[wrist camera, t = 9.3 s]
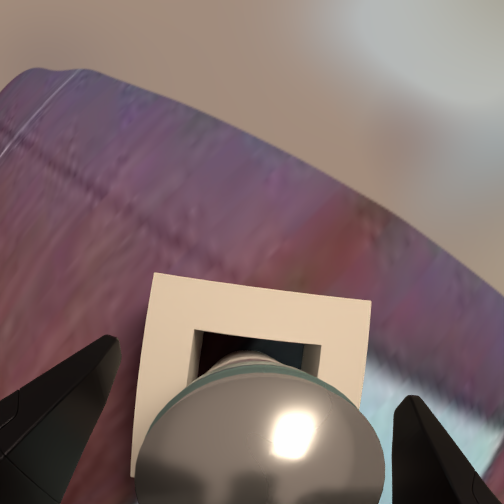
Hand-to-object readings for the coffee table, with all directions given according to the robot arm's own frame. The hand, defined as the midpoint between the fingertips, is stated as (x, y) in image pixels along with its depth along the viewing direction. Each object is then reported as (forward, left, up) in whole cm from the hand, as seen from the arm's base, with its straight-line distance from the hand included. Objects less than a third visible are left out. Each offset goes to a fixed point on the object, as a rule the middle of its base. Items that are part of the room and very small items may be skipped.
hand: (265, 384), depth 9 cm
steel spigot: (-2, 0, -9) cm, 9 cm away
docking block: (-1, 0, -9) cm, 9 cm away
